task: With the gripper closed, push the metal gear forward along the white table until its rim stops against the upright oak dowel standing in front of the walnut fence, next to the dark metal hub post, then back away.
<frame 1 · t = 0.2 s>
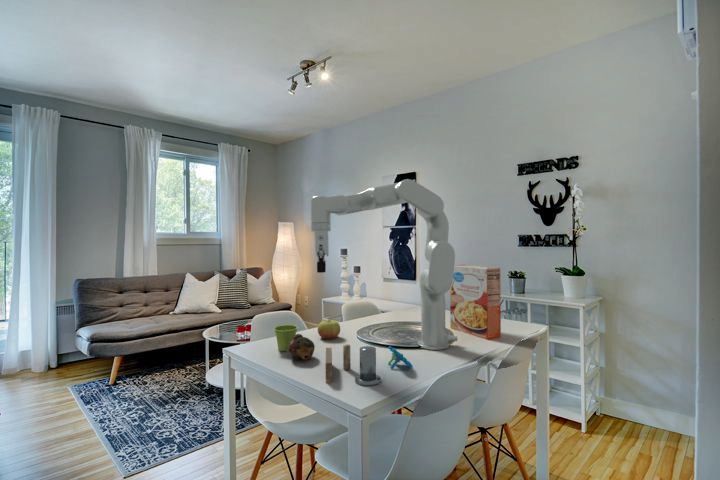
hand: (321, 271, 150), 31 cm above the table, tool pointing down, fingers open, 9 cm apart
apple: (329, 338, 168), on the table
dowel pin: (347, 369, 128), on the table
gear: (399, 368, 130), on the table
pasta box: (474, 333, 174), on the table
plant pot: (286, 349, 151), on the table
fence: (329, 373, 125), on the table
decorative turtle: (301, 359, 140), on the table
hub post: (368, 380, 118), on the table
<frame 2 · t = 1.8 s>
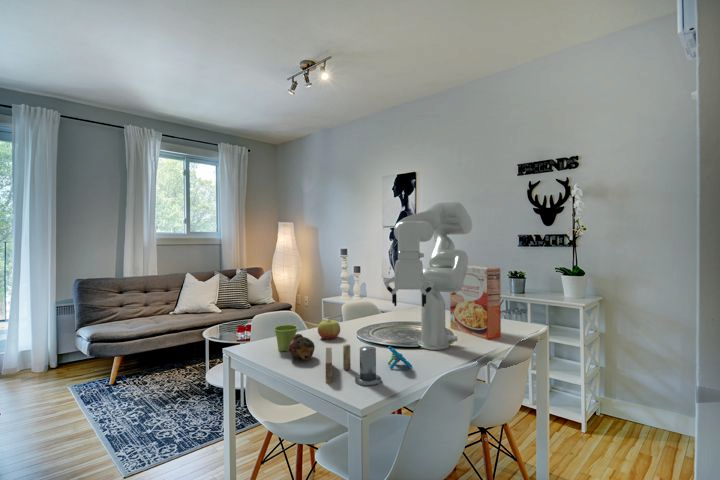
hand: (409, 305, 133), 20 cm above the table, tool pointing down, fingers open, 9 cm apart
nothing on the table moved.
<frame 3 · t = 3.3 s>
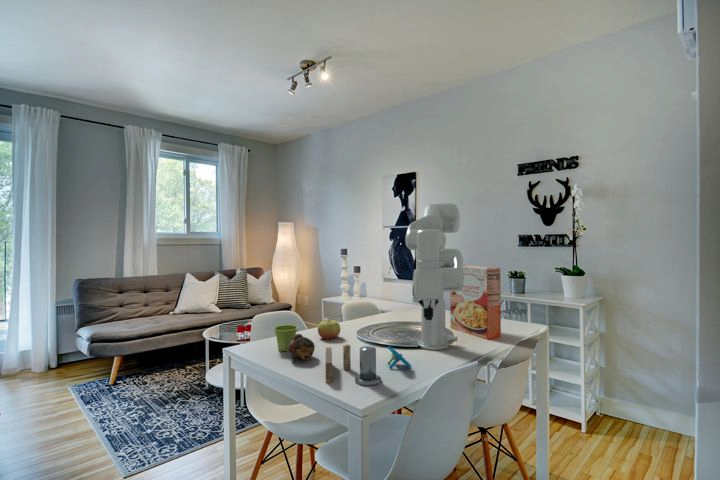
hand: (428, 319, 130), 16 cm above the table, tool pointing down, fingers closed
nothing on the table moved.
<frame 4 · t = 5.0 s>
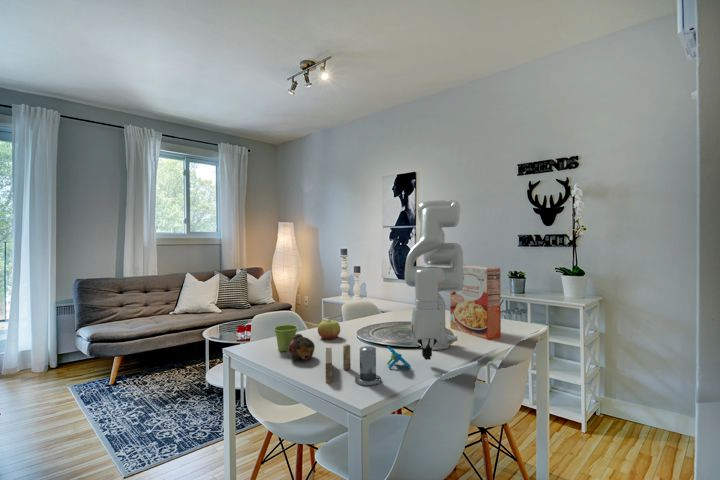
hand: (427, 358, 130), 3 cm above the table, tool pointing down, fingers closed
nothing on the table moved.
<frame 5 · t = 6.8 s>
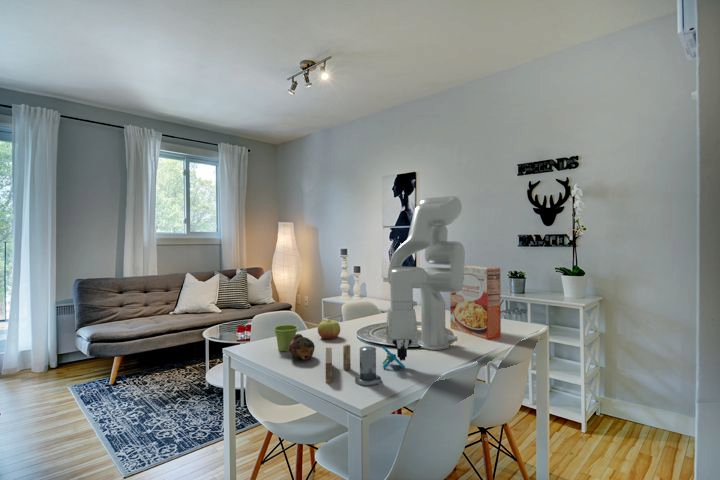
hand: (402, 359, 129), 3 cm above the table, tool pointing down, fingers closed
gear: (392, 368, 129), on the table, touching gripper
everything else where it was.
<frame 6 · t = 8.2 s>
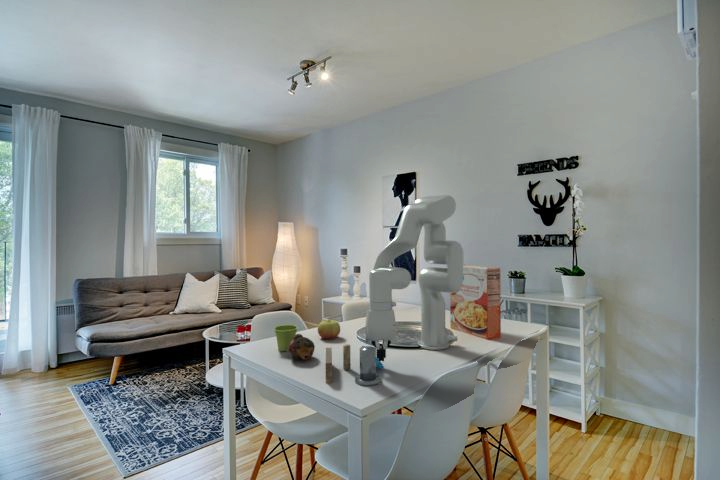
hand: (381, 360, 129), 3 cm above the table, tool pointing down, fingers closed
gear: (372, 368, 129), on the table, touching gripper
everything else where it was.
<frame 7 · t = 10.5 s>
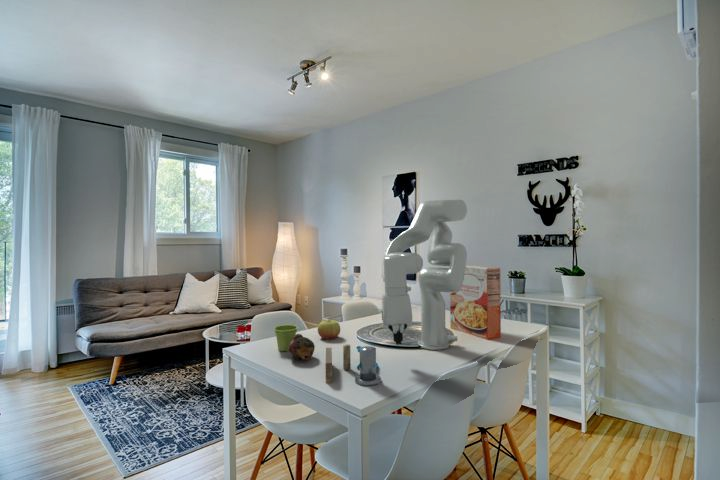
hand: (398, 343, 132), 7 cm above the table, tool pointing down, fingers closed
gear: (367, 368, 129), on the table
everything else where it was.
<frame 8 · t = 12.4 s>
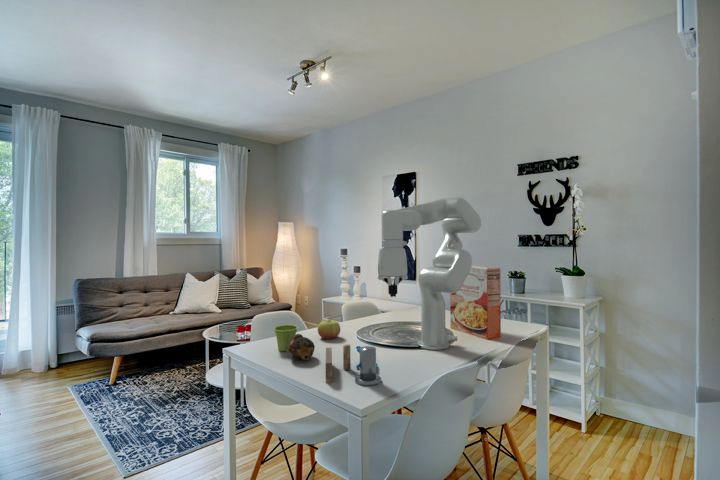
hand: (392, 296, 136), 23 cm above the table, tool pointing down, fingers closed
nothing on the table moved.
at the end: gear 6.9 cm from the dowel pin (horizontally); gear moved 11.2 cm from its start; gear tilted 0° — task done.
